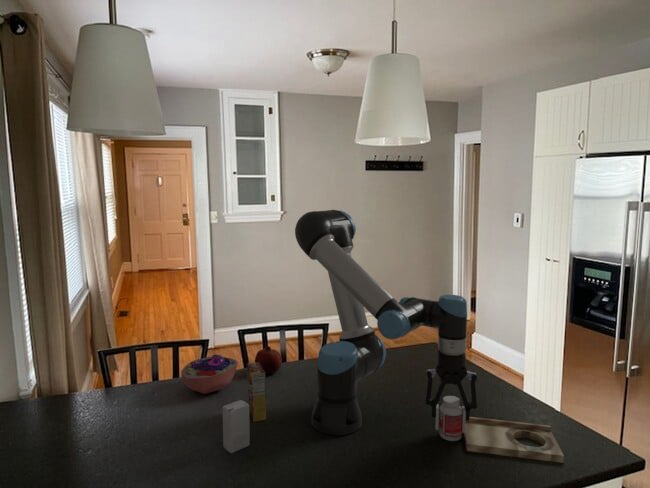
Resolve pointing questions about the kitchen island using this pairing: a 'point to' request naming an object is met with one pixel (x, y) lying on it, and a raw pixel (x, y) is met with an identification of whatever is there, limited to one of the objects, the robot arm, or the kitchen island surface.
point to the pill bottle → (451, 419)
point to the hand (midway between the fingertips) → (450, 428)
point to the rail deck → (511, 439)
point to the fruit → (269, 360)
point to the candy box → (256, 391)
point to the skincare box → (236, 426)
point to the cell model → (209, 373)
